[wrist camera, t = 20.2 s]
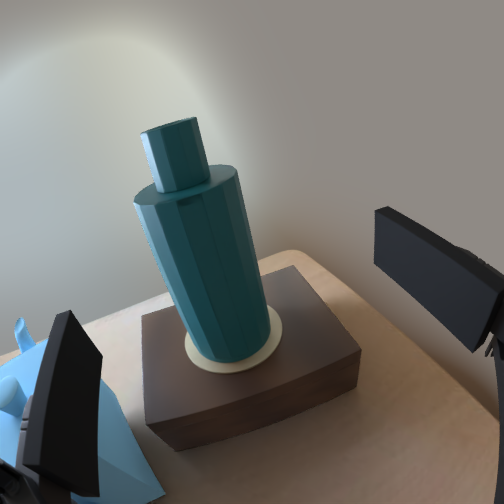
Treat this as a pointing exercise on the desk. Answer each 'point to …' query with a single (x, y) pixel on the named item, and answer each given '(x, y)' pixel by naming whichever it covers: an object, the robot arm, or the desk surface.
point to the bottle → (203, 244)
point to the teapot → (109, 430)
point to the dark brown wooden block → (246, 369)
